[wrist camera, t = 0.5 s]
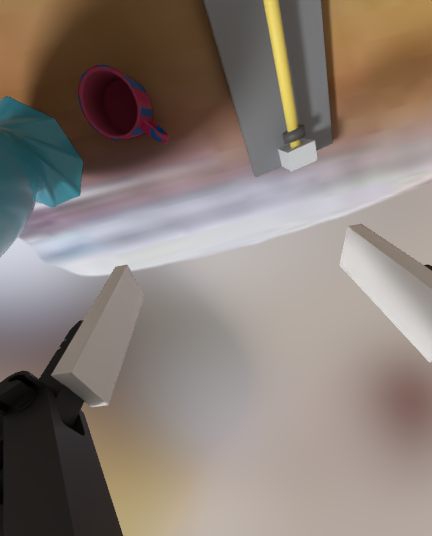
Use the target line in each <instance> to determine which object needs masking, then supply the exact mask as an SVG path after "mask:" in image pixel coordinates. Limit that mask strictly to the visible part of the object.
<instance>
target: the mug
mask: <svg viewBox="0 0 432 536" xmlns="http://www.w3.org/2000/svg"><path fill="white" fill-rule="evenodd" d="M78 94H79V102H80V106H81V109H82V111H83V114H84V116H85V117H86V119H87V121H88V122H89V123H90V125H91V126H92V127H93V128H94V129H95V130H96V131H97V132H98V133H100V134H101V135H103V136H105V137H107V138H109V139H112V140H124V139H129V138H133V137H138V136H141V135H143V134H144V133H146V134H147V135H149V136H150V137H152V138H154V139H155V140H157V141H159V142H161V143H167V142H168V140H169V135H168V133H167V132H166V131H164V130H163V129H162V128H161V127H159V126H158V125H157V124H156V123H154V122H153V121H152V117H153V110H152V104H151V101H150V99H149V96H148V94H147V93H146V91H145V90H144V88H143V87H142V86H141V85H140V84H139V83H137V82H136V81H135V80H133V79H131V78H130V77H128V76H126V75H125V74H123V73H121V72H119V71H118V70H116V69H114V68H112V67H109V66H105V65H96V66H93V67H91V68H89V69H88V70H87V71H86V72H85V73H84V74H83V76H82V78H81V80H80V83H79V90H78Z"/></svg>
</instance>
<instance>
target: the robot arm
mask: <svg viewBox="0 0 432 536" xmlns="http://www.w3.org/2000/svg"><path fill="white" fill-rule="evenodd" d="M340 266H341V267H342V268H343V269H344V271H345V272H346V273H347V274H348V275H349V276H350V277H351V278H352V279H353V280H354V281H355V282H356V283H357V285H358V286H359V287H360V288H361V289H362V290H363V291H364V292H365V293H366V294H367V295H368V296H369V297H370V298H371V300H372V301H373V302H374V303H375V304H376V305H377V306H378V307H379V308H380V309H381V311H383V313H384V314H385V315H386V316H387V317H388V318H389V319H390V320H391V321H392V322H393V323H394V325H395V326H396V327H397V328H398V329H399V330H400V331H401V332H402V333H403V334H404V335H405V336H406V337H407V339H409V341H410V342H411V343H412V344H413V345H414V346H415V347H416V348H417V349H418V351H419V352H420V353H421V354H422V355H423V356H424V357H425V358H426V359H427V360H428V361H429V362H432V266H430V265H423V264H421V263H420V262H418V261H416V260H415V259H414V258H412V257H410V256H409V255H407V254H406V253H404V252H403V251H401V250H400V249H399V248H397V247H396V246H394V245H393V244H391V243H390V242H388V241H386V240H385V239H383V238H382V237H381V236H379V235H377V234H376V233H375V232H373V231H372V230H370V229H368V228H367V227H365V226H364V225H362V224H358V225H352V226H348V228H347V233H346V237H345V242H344V246H343V251H342V256H341V260H340ZM143 299H144V296H143V294H142V292H141V290H140V288H139V286H138V284H137V282H136V280H135V278H134V276H133V275H132V272H131V271H130V269H129V267H128V265H123V266H118V267H115V269H114V270H113V272H112V274H111V275H110V277H109V279H108V280H107V282H106V284H105V285H104V287H103V289H102V291H101V292H100V294H99V296H98V297H97V299H96V301H95V302H94V304H93V306H92V307H91V309H90V311H89V312H88V314H87V316H86V317H85V319H84V320H83V321H79V322H78V323H77V324H76V325H75V326H74V327H73V328H72V329H71V330H70V331H69V333H68V334H67V336H66V337H65V339H64V341H63V342H62V344H61V345H60V347H59V350H57V352H56V353H55V355H54V356H53V358H52V360H51V361H50V363H49V364H48V366H47V367H46V369H45V371H44V372H43V374H42V375H41V377H40V378H39V379H38V378H36V377H35V376H34V375H32V374H31V373H30V372H27V371H21V372H17V373H15V374H13V375H11V376H9V377H7V378H6V379H5V380H3V381H2V382H0V536H123V534H122V531H121V528H120V525H119V521H118V518H117V515H116V512H115V509H114V506H113V503H112V499H111V496H110V493H109V490H108V487H107V484H106V481H105V478H104V474H103V471H102V468H101V466H100V462H99V459H98V456H97V453H96V449H95V446H94V444H93V440H92V437H91V434H90V431H89V428H88V424H87V422H86V418H85V415H84V413H83V412H82V410H81V407H82V405H83V403H84V402H85V403H87V404H88V405H89V406H91V407H96V406H104V405H108V404H109V401H110V398H111V395H112V392H113V389H114V386H115V383H116V380H117V377H118V374H119V371H120V368H121V365H122V362H123V359H124V356H125V353H126V350H127V347H128V344H129V341H130V338H131V335H132V332H133V329H134V326H135V323H136V320H137V317H138V314H139V311H140V308H141V305H142V302H143Z"/></svg>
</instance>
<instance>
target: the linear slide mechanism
mask: <svg viewBox="0 0 432 536" xmlns="http://www.w3.org/2000/svg"><path fill="white" fill-rule="evenodd" d="M203 3H204V6H205V10H206V13H207V16H208V20H209V23H210V26H211V30H212V33H213V37H214V40H215V43H216V47H217V50H218V54H219V57H220V60H221V64H222V67H223V71H224V74H225V77H226V81H227V84H228V88H229V91H230V94H231V98H232V101H233V104H234V108H235V111H236V115H237V118H238V121H239V125H240V128H241V132H242V135H243V138H244V142H245V145H246V149H247V152H248V155H249V159H250V162H251V165H252V169H253V172H254V175H255V177H258V176H260V175H262V174H265V173H267V172H269V171H271V170H274V169H276V168H278V167H280V166H283V167H284V168H286V169H288V170H290V171H294V170H296V169H298V168H301V167H303V166H305V165H307V164H310V163H312V162H314V161H317V153H316V150H319V149H321V148H323V147H325V146H328V145H330V144H332V131H331V119H330V107H329V94H328V82H327V70H326V58H325V46H324V33H323V21H322V9H321V0H203Z"/></svg>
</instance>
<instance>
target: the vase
mask: <svg viewBox="0 0 432 536" xmlns="http://www.w3.org/2000/svg"><path fill="white" fill-rule="evenodd" d="M82 168H83V160H82V158H81V157H80V156H79V154H78V153H77V152H76V150H75V148H74V147H73V145H72V144H71V142H70V141H69V139H68V138H67V136H66V135H65V133H64V132H63V130H62V129H61V127H60V126H59V124H58V123H57V121H56V120H55V119H54V118H52V117H50V116H48V115H46V114H43V113H41V112H39V111H37V110H35V109H33V108H31V107H29V106H26V105H24V104H22V103H20V102H18V101H16V100H14V99H12V98H10V97H4V98H2V99H1V100H0V257H1V256H2V255H3V254H4V253H5V252H6V251H7V250H8V248H9V247H10V246H11V245H12V244H13V242H14V241H15V240H16V238H17V237H18V236H19V235H20V233H21V232H22V230H23V229H24V227H25V226H26V224H27V222H28V220H29V218H30V216H31V214H32V211H33V209H34V206H35V202H36V201H37V202H40V203H42V204H45V205H47V206H50V207H55V206H56V205H58V204H61V203H63V202H65V201H68V200H70V199H72V198H75V197H78V196H79V195H80V186H81V177H82Z"/></svg>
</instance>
